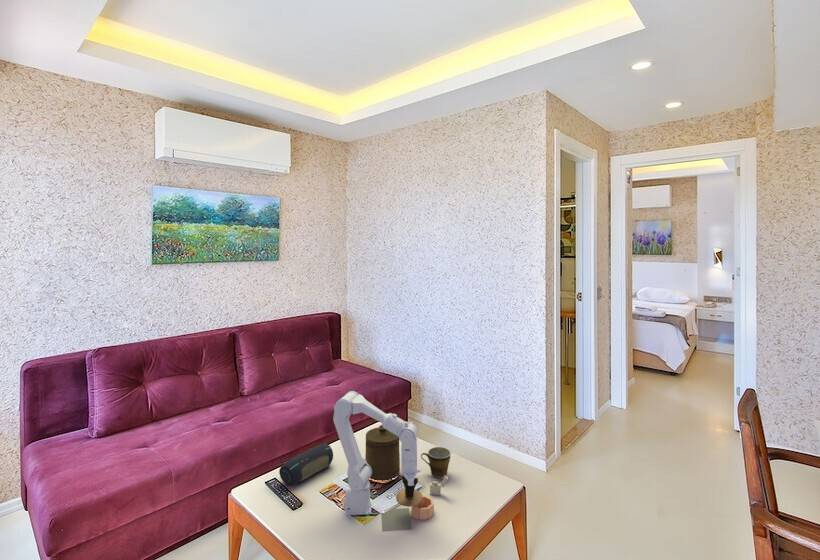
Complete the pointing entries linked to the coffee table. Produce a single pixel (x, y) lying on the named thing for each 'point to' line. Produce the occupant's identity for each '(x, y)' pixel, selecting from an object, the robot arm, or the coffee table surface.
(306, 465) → the portable speaker
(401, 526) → the mat
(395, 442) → the wooden container
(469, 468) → the coffee table surface
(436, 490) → the lighter
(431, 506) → the bowl
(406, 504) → the lid
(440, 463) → the ceramic cup
